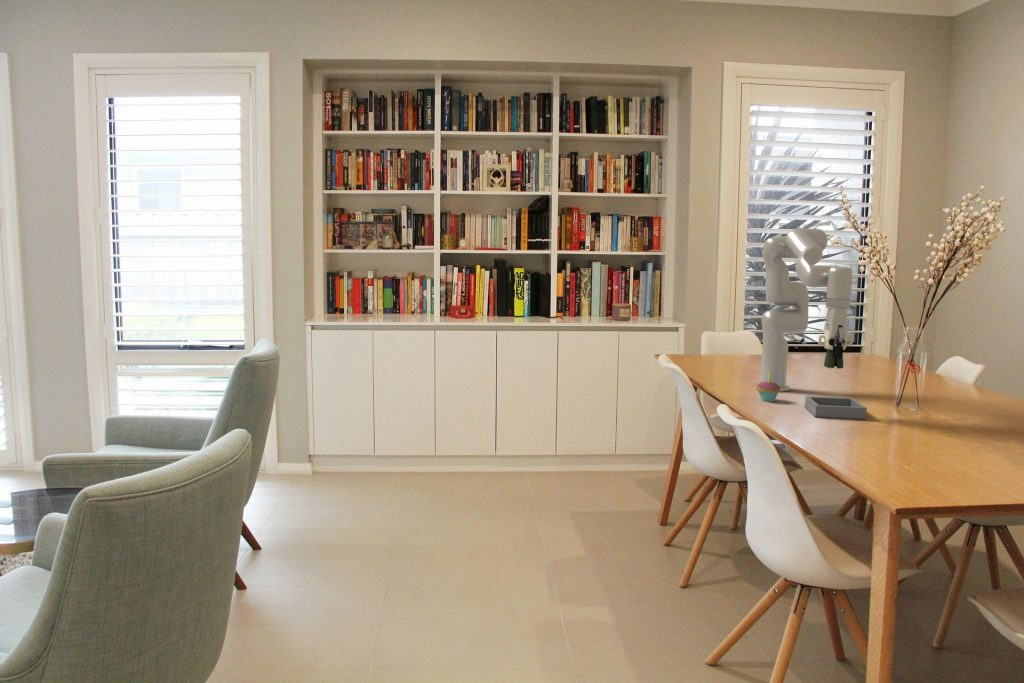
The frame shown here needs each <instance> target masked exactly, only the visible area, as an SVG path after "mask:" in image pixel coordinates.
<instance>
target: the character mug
mask: <svg viewBox="0 0 1024 683" xmlns="http://www.w3.org/2000/svg"><path fill="white" fill-rule="evenodd" d="M835 336H836V337H839V334H838V332H837V333H836V335H835ZM822 339H824V340H823V341H822ZM847 340H848V341H849V342H848V341H847ZM836 341H837V339H836ZM817 342H818V345H819V346H823V347H824V349H826V352H825V358H824V362H823V367H825V368H828V369H835V368H836V369H838V370H839V369H844V356H843V357H842V358H832V350H833V346H834V337H832V338H830V337H829V331H827V330H825V329H824V334H823V335H822V334H820V335H818V341H817ZM851 346H853V336H851V335H848V330H846V336H845V338H843V351H845V350H846V348H847V347H851ZM827 349H828V351H827Z"/></svg>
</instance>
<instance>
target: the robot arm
mask: <svg viewBox="0 0 1024 683" xmlns="http://www.w3.org/2000/svg"><path fill="white" fill-rule="evenodd" d="M828 242H829V241H828V236H827V233H826V232H825V231H824V230H823V229H820V228H802V227H801V228H794V229H792V230H790V231H789V232H788V233H787V234H786V235H784V236H783V235H779V236H772V237H769V238H767V239H765V241H764V243H763V246H762V259H763V262H764V267H765V299H766V302H767V304H768V305H770V306H776V307H777V306H778V307H791V308H792V309H786V308H782V309H781V308H780V309H779V308H777V309H776V308H775V309H769V310H767V311H765V312H764V313H762V316H761V328H762V350H761V352H762V354H761V371H760V372H761V373H760V383H761V382H764V381H768V376H769V371H771V375H770V381H771V382H774V383H776V384H778V385H779V386H780V392H788V391H790V388H791V386H789V385H787V376H788V375H787V372H788V370H787V369H788V360H789V359H788V358H789V356H788V354H789V344H788V341H787V339H786V337H784V335H786V334H788V335H790V334H791V335H793V334H796V335H797V334H803V333H805V332H806V331H807V329H808V325H809V324H808V323H809V290H808V288H826V299H825V301H826V302H825V308H826V309H827V311H826V317H825V324H824V325H825V326H824V331H825V330H827V331H829V337H830V338H832V337H834V346H833V350H832V358H842V357H843V358H844V350H843V338H845V336H846V331H847V327H848V326H847V325H848V324H847V323H848V322H847V320H848V310H850V309H851V297H852V283H853V269H852V268H851V267H846V266H840V265H823V264H821V265H818V263H819V262H820V261H821V260H822V258H823V254H824V253H823V251H825V249H826V247H827V246H828ZM783 259H791V260H792V259H796V261H795V273H796V277H797V278H798V279H799V280H800V281H790V270H789V267H788V265H787V263H786V262H785V261H784V260H783ZM816 264H817V265H816ZM807 287H808V288H807ZM837 332H838V334H839V337H836V336H835V335H836V333H837ZM836 339H837V341H836ZM827 351H828V349H826V352H827ZM758 384H759V383H758ZM758 384H756V386H757V385H758ZM780 392H779V393H780Z"/></svg>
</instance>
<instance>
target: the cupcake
mask: <svg viewBox="0 0 1024 683" xmlns="http://www.w3.org/2000/svg"><path fill="white" fill-rule="evenodd" d="M770 375H771V371H769V376H768V381H764V382H761V381H760V383H758V385H757V384H756V385H757V386H756V387H755V390H756V391H757V392H758V394H759V396H760V400H761V401H763V402H766V403H767V402H768V403H771V402H772V403H773V402H775V401H776V399H777V396H778V394H779V393H780V386H779V385H778V384H776V383H774V382H771V381H770Z"/></svg>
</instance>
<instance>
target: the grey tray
mask: <svg viewBox="0 0 1024 683" xmlns="http://www.w3.org/2000/svg"><path fill="white" fill-rule="evenodd" d="M804 408H805V409H806V410H807V411H808V412H809V413H810V414H811V415H812V416H813V417H814V418H818V419H819V418H820V419H837V420H838V419H839V420H840V419H841V420H858V421H859V420H860V421H861V420H862V421H866V420H867V410H868V408H867V407H866V406H865V405H864V404H862V403H861V402H859V401H858V400H856V399H855V398H851V397H849V398H848V397H832V396H831V397H829V396H828V397H825V396H810V395H809V396H805V398H804Z"/></svg>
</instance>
